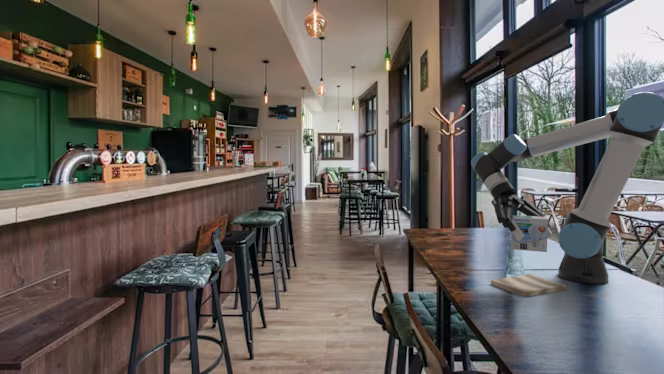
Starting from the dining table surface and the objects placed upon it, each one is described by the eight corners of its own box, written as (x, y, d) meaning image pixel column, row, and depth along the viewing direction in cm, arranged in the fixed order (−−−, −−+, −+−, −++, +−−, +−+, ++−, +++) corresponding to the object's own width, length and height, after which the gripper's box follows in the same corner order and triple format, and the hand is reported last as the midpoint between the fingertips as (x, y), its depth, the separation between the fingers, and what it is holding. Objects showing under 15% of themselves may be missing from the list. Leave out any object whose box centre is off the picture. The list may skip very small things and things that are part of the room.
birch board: (529, 278, 139) (529, 274, 139) (565, 289, 127) (566, 285, 126) (490, 284, 133) (491, 279, 133) (525, 297, 120) (525, 292, 120)
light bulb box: (511, 249, 128) (511, 217, 127) (510, 245, 134) (510, 214, 133) (548, 252, 124) (548, 218, 123) (545, 248, 130) (546, 216, 129)
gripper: (518, 193, 147) (554, 240, 133) (468, 195, 138) (501, 246, 124) (530, 180, 142) (569, 227, 128) (479, 181, 132) (514, 233, 119)
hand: (535, 237), depth 126 cm, fingers closed on light bulb box, 12 cm apart
